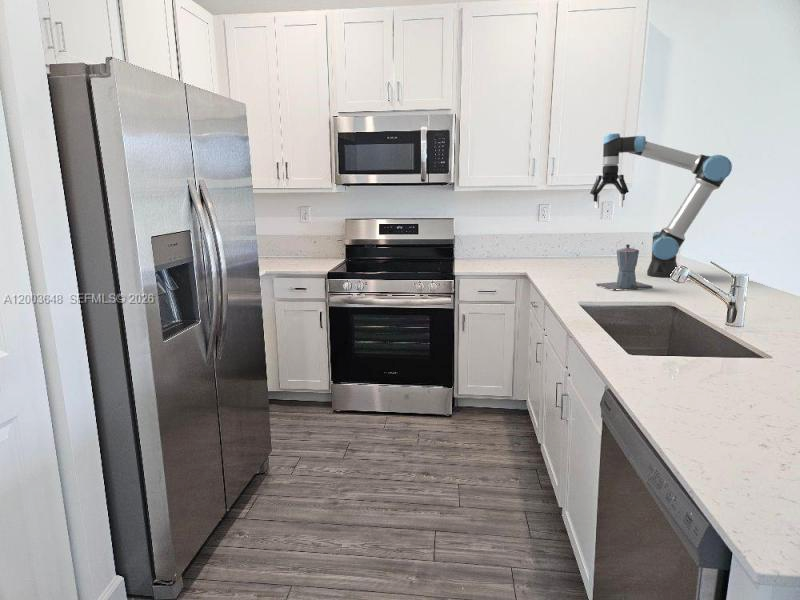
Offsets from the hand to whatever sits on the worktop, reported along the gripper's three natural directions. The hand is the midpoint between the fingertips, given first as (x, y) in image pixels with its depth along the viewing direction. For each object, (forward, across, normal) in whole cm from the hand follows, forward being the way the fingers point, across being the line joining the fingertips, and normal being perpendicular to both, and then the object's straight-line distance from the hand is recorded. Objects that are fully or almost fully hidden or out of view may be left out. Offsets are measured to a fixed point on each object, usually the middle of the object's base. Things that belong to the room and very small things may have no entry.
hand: (608, 207), depth 271 cm
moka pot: (+36, +9, +31) cm, 48 cm away
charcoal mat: (+37, +7, +27) cm, 46 cm away
